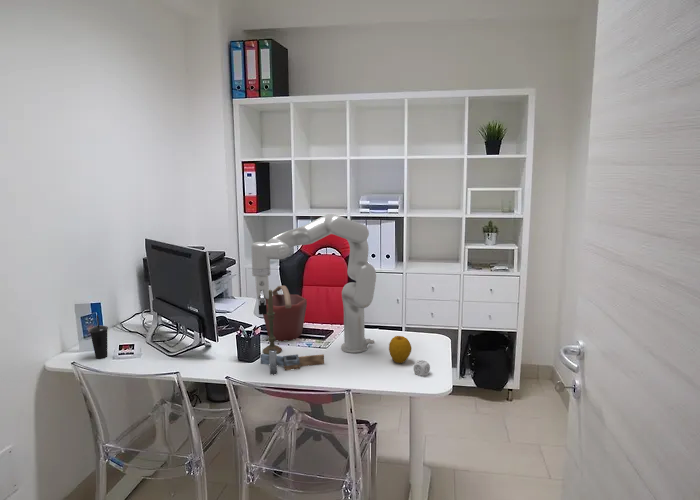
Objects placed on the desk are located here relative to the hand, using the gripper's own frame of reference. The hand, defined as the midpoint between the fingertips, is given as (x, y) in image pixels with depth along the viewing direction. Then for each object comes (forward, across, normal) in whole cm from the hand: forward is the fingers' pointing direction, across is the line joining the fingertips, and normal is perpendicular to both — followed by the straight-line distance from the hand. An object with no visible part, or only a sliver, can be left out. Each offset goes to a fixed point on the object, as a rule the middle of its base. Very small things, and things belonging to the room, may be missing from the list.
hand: (262, 310), depth 215 cm
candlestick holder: (+25, +17, -4) cm, 31 cm away
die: (+24, -21, -64) cm, 72 cm away
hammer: (+25, 0, -12) cm, 28 cm away
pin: (+25, -8, -4) cm, 27 cm away
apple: (+24, -7, -59) cm, 64 cm away
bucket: (+25, +37, -11) cm, 46 cm away
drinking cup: (+26, +26, +74) cm, 82 cm away
